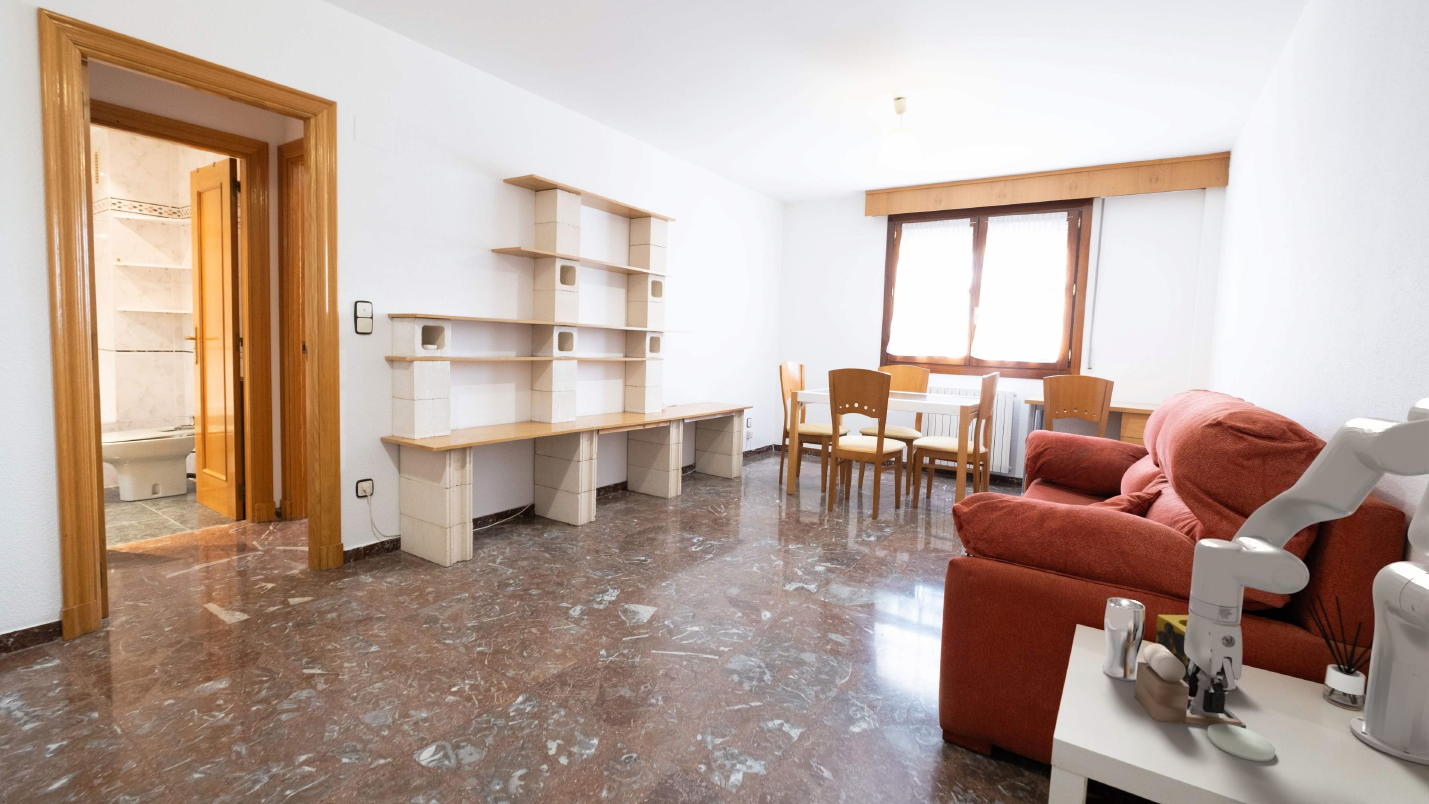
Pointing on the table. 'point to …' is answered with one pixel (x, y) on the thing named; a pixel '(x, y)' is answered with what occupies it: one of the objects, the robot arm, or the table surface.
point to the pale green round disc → (1241, 742)
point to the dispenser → (1170, 690)
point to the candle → (1174, 637)
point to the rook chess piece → (1201, 696)
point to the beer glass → (1123, 637)
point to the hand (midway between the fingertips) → (1205, 703)
